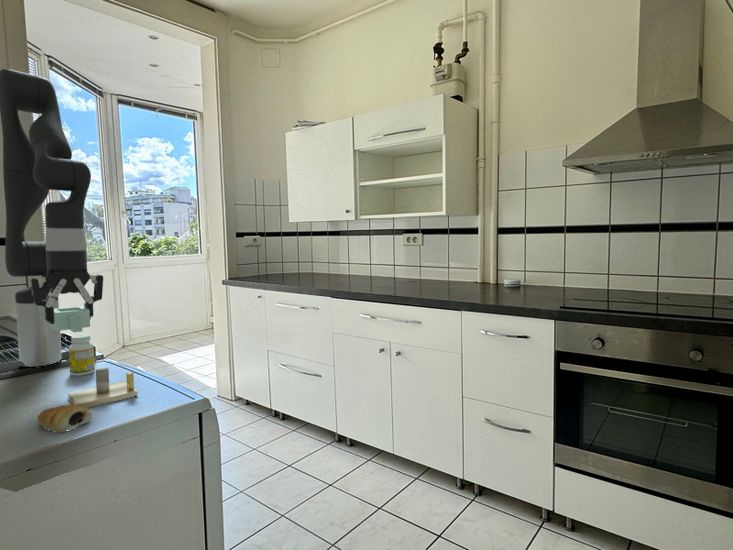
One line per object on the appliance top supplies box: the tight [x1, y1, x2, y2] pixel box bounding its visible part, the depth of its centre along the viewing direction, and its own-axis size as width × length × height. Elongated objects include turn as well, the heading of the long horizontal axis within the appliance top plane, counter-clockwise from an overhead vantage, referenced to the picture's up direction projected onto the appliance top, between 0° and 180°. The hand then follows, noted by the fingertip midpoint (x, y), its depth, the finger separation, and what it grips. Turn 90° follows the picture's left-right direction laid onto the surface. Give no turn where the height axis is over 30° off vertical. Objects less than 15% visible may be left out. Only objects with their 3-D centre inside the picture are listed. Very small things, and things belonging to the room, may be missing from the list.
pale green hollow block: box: [51, 305, 91, 333], centre depth 98 cm, size 10×6×4 cm, turn 45°
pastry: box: [36, 404, 92, 434], centre depth 81 cm, size 9×7×4 cm
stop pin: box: [125, 372, 135, 391], centre depth 95 cm, size 1×1×4 cm
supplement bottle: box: [68, 334, 96, 377], centre depth 110 cm, size 5×5×10 cm
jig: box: [67, 367, 138, 409], centre depth 94 cm, size 9×11×6 cm
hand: (70, 321), depth 99 cm, fingers closed on pale green hollow block, 6 cm apart
